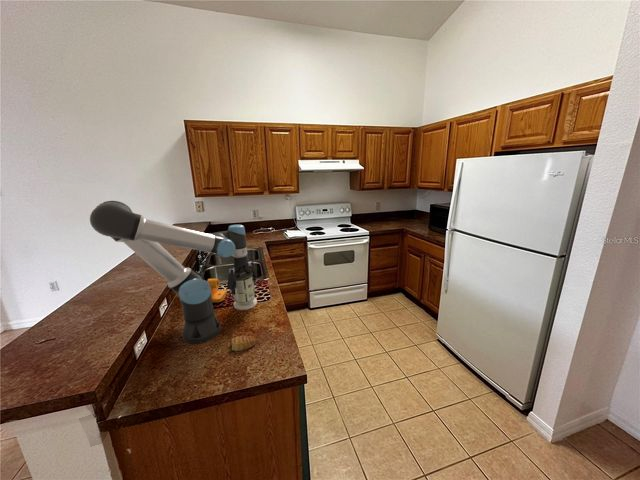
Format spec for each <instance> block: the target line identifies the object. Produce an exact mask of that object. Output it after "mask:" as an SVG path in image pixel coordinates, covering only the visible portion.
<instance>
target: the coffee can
mask: <svg viewBox="0 0 640 480" xmlns="http://www.w3.org/2000/svg"><path fill="white" fill-rule="evenodd" d="M237 274H238V273H237ZM252 275H253V274H252V272H251V271H250V273H245V272H244V273H242V274H240V276H239V278H234V277H233V280H236V287H235V288H237V294H238V300H235V299H234V302H236V303H238V304H246V303H250V302H252V301H253V300H254V299H255V298H256V296H255V295H256V294H255V292H254V288H255V285H254V286H253V277H252Z"/></svg>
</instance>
